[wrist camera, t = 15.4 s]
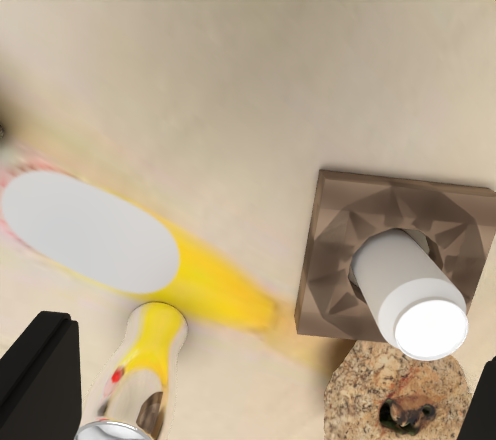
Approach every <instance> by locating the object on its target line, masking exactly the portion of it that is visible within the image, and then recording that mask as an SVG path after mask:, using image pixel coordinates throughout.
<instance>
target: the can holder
mask: <svg viewBox="0 0 496 440" xmlns="http://www.w3.org/2000/svg"><path fill="white" fill-rule="evenodd" d="M391 228H403V229H413V230H419V231H421V232H422V233H423V234H425V236H426V239H427V242H428V245H429V249H430V252H429V255H428V256H429V257H430V259H431V260H432V261H433V262H434V263H435V264H436V265H437V266H438V267H439V269H440V270H441V271H442V272H443V273H444V274H445V275H446V276H447V278H448V279H449V280H450V281H451V282H452V283H453V284H454V286H455V287H456V288H457V289H458V290H459V291H460V293H461V294H462V296H463V298H464V300H465V304H466V316H467V314H468V311H469V308H470V305H471V302H472V299H473V296H474V293H475V291H476V288H477V285H478V282H479V279H480V276H481V273H482V270H483V267H484V265H485V262H486V259H487V256H488V253H489V250H490V247H491V244H492V241H493V238H494V236H495V233H496V192H494V191H492V190H490V189H488V188H481V187H472V186H463V185H454V184H444V183H435V182H426V181H417V180H408V179H398V178H389V177H380V176H371V175H362V174H353V173H343V172H334V171H325V170H320V171H319V177H318V182H317V188H316V194H315V200H314V205H313V211H312V217H311V223H310V228H309V234H308V240H307V246H306V252H305V257H304V263H303V269H302V275H301V280H300V286H299V292H298V298H297V303H296V309H295V315H294V317H295V323H296V329H297V334H300V335H311V336H321V337H331V338H342V339H352V340H362V341H372V342H383V343H388V342H387V341H386V340H385V339H384V337H383V336H382V334H381V332H380V330H379V328H378V326H377V324H376V321H375V319H374V317H373V315H372V313H371V311H370V309H369V306H368V304H367V302H366V300H365V298H364V296H363V294H362V291H361V289H360V288H359V287H357V286H356V285H355V284H353V283H352V282H350V281H349V279H348V274H349V269H350V264H351V260H352V255H353V254H354V253H355V252H356V251H357V250H358V249H359V248H360V247H361V245H362V244H363V243H364V242H365V241H366V240H367V239H368V238H369V237H370V236H373V235H376V234H378V233H381V232H383V231H386V230H389V229H391Z"/></svg>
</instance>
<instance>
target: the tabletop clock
mask: <svg viewBox="0 0 496 440" xmlns="http://www.w3.org/2000/svg"><path fill="white" fill-rule="evenodd" d="M3 133H4V130H3V128H2V126H1V125H0V139H1V138H2V137H3Z"/></svg>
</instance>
